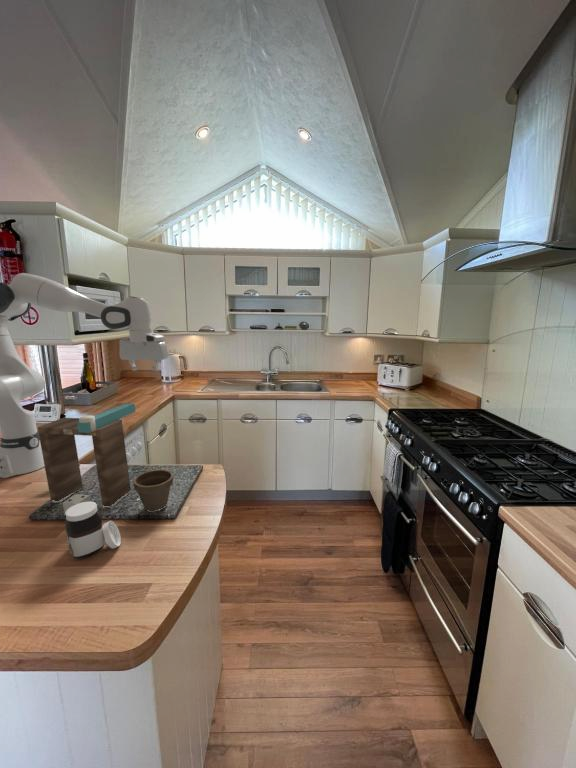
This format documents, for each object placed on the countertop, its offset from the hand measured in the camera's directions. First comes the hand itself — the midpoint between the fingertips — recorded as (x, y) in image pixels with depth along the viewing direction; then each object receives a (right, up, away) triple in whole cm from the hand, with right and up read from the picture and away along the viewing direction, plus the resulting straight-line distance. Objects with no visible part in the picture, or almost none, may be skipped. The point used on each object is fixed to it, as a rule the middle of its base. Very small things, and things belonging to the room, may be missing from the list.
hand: (145, 370), depth 141 cm
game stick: (+2, -18, -32) cm, 36 cm away
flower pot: (+18, -45, -35) cm, 60 cm away
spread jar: (+10, -49, -53) cm, 73 cm away
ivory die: (-4, -46, -37) cm, 59 cm away
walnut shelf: (-6, -44, -28) cm, 52 cm away
